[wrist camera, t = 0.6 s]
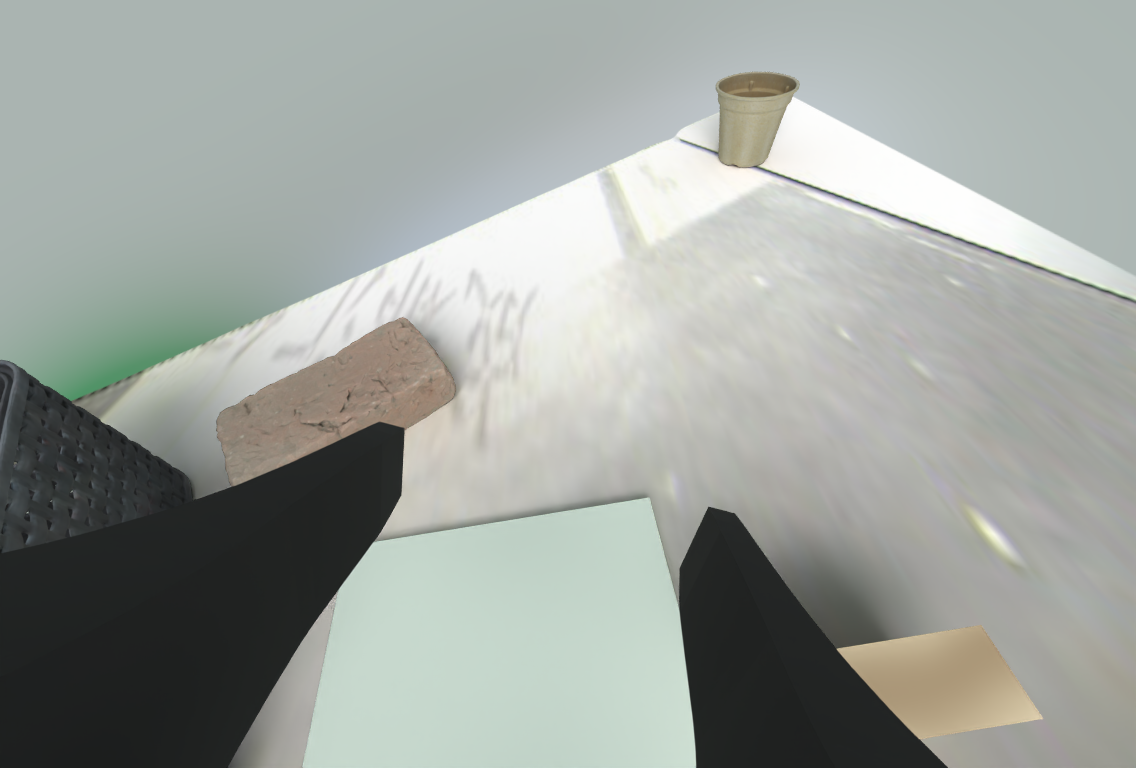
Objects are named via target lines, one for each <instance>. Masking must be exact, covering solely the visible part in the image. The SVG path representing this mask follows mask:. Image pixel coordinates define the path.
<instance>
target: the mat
mask: <svg viewBox="0 0 1136 768" xmlns="http://www.w3.org/2000/svg"><path fill="white" fill-rule="evenodd" d="M302 768H696V752H695V739H694V728H693V718H692V710H691V702H690V694H689V686H688V678H687V670H686V663H685V655H684V646H683V638H682V630H681V621H680V611H679V607H678V603H677V600H676V596H675V592H674V588H673V584H672V581H671V577H670V573H669V569H668V566H667V562H666V558H665V554H664V550H663V547H662V543H661V539H660V535H659V532H658V528H657V524H656V520H655V517H654V513H653V509H652V505H651V501H650V498H643V499H637V500H631V501H624V502H618V503H612V504H606V505H600V506H593V507H587V508H581V509H575V510H569V511H562V512H556V513H550V514H544V515H538V516H532V517H525V518H519V519H513V520H507V521H501V522H494V523H488V524H482V525H476V526H470V527H463V528H457V529H451V530H445V531H439V532H433V533H426V534H420V535H414V536H408V537H402V538H395V539H389V540H383V541H377V542H373V544H372V545H371V546H370V548H369V549H368V550H367V552H366V553H365V555H364V556H363V557H362V559H361V560H360V561H359V563H358V564H357V565H356V567H355V568H354V570H353V571H352V572H351V574H350V575H349V576H348V578H347V579H346V580H345V582H344V583H343V584H342V586H341V587H340V588H339V590H338V594H337V599H336V604H335V609H334V614H333V619H332V624H331V629H330V633H329V638H328V643H327V648H326V653H325V658H324V663H323V668H322V673H321V678H320V683H319V688H318V692H317V697H316V702H315V707H314V712H313V717H312V722H311V727H310V732H309V737H308V742H307V747H306V751H305V756H304V761H303V766H302Z"/></svg>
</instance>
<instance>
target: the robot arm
mask: <svg viewBox="0 0 1136 768" xmlns="http://www.w3.org/2000/svg"><path fill="white" fill-rule="evenodd" d="M404 430H405V428H403V427H399V426H395V425H391V424H387V423H384V422H377V423H375V424H372V425H370V426H368V427H366V428H364V429H361V430H359V431H357V432H355V433H353V434H351V435H349V436H347V437H345V438H343V439H340V440H338V441H336V442H334V443H332V444H330V445H328V446H326V447H323V448H321V449H319V450H317V451H315V452H313V453H311V454H308V455H306V456H304V457H302V458H300V459H298V460H295V461H293V462H291V463H289V464H286V465H284V466H281V467H279V468H277V469H274V470H272V471H269V472H267V473H265V474H262V475H260V476H257V477H255V478H253V479H250V480H248V481H245V482H243V483H241V484H238V485H236V486H233V487H230V488H228V489H225V490H222V491H220V492H217V493H214V494H211V495H209V496H206V497H203V498H200V499H197V500H194V501H191V502H188V503H185V504H182V505H179V506H176V507H173V508H170V509H167V510H164V511H161V512H158V513H154V514H151V515H147V516H144V517H140V518H137V519H133V520H130V521H126V522H123V523H119V524H116V525H112V526H109V527H105V528H102V529H98V530H95V531H91V532H88V533H84V534H80V535H76V536H72V537H68V538H64V539H60V540H56V541H52V542H48V543H44V544H40V545H35V546H31V547H27V548H22V549H18V550H13V551H9V552H5V553H0V768H227V767H228V765H229V764H230V762H231V760H232V758H233V756H234V755H235V753H236V751H237V749H238V747H239V746H240V744H241V742H242V740H243V739H244V737H245V735H246V734H247V732H248V730H249V728H250V727H251V725H252V723H253V722H254V720H255V718H256V716H257V715H258V713H259V711H260V710H261V708H262V706H263V704H264V703H265V701H266V699H267V698H268V696H269V694H270V692H271V691H272V689H273V687H274V686H275V684H276V683H277V681H278V679H279V678H280V676H281V674H282V673H283V671H284V669H285V668H286V666H287V664H288V663H289V661H290V660H291V658H292V656H293V655H294V653H295V651H296V650H297V648H298V646H299V645H300V643H301V642H302V640H303V639H304V637H305V636H306V634H307V633H308V631H309V630H310V628H311V627H312V625H313V624H314V622H315V621H316V620H317V618H318V617H319V615H320V614H321V613H322V611H323V610H324V609H325V607H326V606H327V605H328V603H329V602H330V601H331V599H332V598H333V597H334V595H335V594H336V592H337V591H338V590H339V588H340V587H341V586H342V584H343V583H344V582H345V580H346V579H347V578H348V576H349V575H350V574H351V572H352V571H353V570H354V568H355V567H356V565H357V564H358V563H359V561H360V560H361V559H362V557H363V556H364V555H365V553H366V552H367V550H368V549H369V548H370V546H371V545H372V544H373V542H374V541H375V539H376V538H377V537H378V535H379V534H380V532H381V531H382V529H383V527H384V525H385V524H386V522H387V520H388V518H389V517H390V515H391V513H392V511H393V509H394V508H395V506H396V504H397V502H398V500H399V498H400V497H401V492H402V471H403V451H404ZM679 604H680V621H681V630H682V638H683V646H684V655H685V663H686V670H687V678H688V686H689V694H690V702H691V710H692V718H693V728H694V739H695V752H696V768H948V767H947V766H946V765H945V764H944V763H943V762H942V761H941V760H940V759H939V758H938V757H937V756H936V755H935V754H934V753H933V752H932V751H931V750H930V749H929V748H928V747H927V746H926V745H925V744H924V743H923V742H922V741H921V740H920V739H919V738H918V737H917V736H916V735H915V734H914V733H913V732H912V731H911V730H910V729H909V728H908V727H907V726H906V725H905V724H904V723H903V722H902V721H901V720H900V719H899V718H898V717H897V716H896V715H895V714H894V713H893V712H892V711H891V710H890V709H889V708H888V706H887V705H886V704H885V703H884V702H883V701H882V700H881V699H880V698H879V697H878V695H877V694H876V693H875V692H874V691H873V690H872V689H871V688H870V687H869V686H868V684H867V683H866V682H865V681H864V680H863V679H862V678H861V677H860V676H859V675H858V673H857V672H856V671H855V670H854V669H853V668H852V667H851V666H850V664H849V663H848V662H847V661H846V660H845V659H844V657H843V656H842V655H841V654H840V653H839V652H838V650H837V649H836V648H835V647H834V645H833V644H832V643H831V642H830V641H829V639H828V638H827V637H826V636H825V634H824V633H823V632H822V631H821V629H820V628H819V627H818V626H817V624H816V623H815V622H814V621H813V620H812V618H811V617H810V616H809V614H808V613H807V612H806V611H805V609H804V608H803V607H802V605H801V604H800V603H799V601H798V600H797V599H796V597H795V596H794V595H793V593H792V592H791V591H790V589H789V588H788V587H787V585H786V584H785V583H784V581H783V580H782V579H781V577H780V576H779V574H778V573H777V572H776V570H775V569H774V567H773V566H772V565H771V563H770V562H769V560H768V559H767V558H766V556H765V555H764V553H763V552H762V550H761V549H760V548H759V546H758V545H757V543H756V542H755V541H754V539H753V538H752V536H751V535H750V533H749V532H748V531H747V529H746V528H745V526H744V525H743V524H742V522H741V521H740V520H739V518H738V517H737V516H736V514H735V513H731V512H727V511H723V510H719V509H715V508H711V507H708V509H707V511H706V513H705V515H704V517H703V520H702V522H701V524H700V526H699V528H698V530H697V532H696V535H695V537H694V539H693V541H692V543H691V545H690V547H689V550H688V552H687V554H686V556H685V558H684V560H683V562H682V564H681V567H680V580H679Z"/></svg>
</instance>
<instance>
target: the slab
mask: <svg viewBox="0 0 1136 768" xmlns="http://www.w3.org/2000/svg"><path fill="white" fill-rule="evenodd" d="M837 650H838V652H839V653H840V654H841V655H842V656H843V657H844V659H845V660H846V661H847V662H848V663H849V664H850V666H851V667H852V668H853V669H854V670H855V671H856V672H857V673H858V675H859V676H860V677H861V678H862V679H863V680H864V681H865V682H866V683H867V684H868V686H869V687H870V688H871V689H872V690H873V691H874V692H875V693H876V694H877V695H878V697H879V698H880V699H881V700H882V701H883V702H884V703H885V704H886V705H887V706H888V708H889V709H890V710H891V711H892V712H893V713H894V714H895V715H896V716H897V717H898V718H899V719H900V720H901V721H902V722H903V723H904V724H905V725H906V726H907V727H908V728H909V729H910V730H911V731H912V732H913V733H914V734H915V735H916V736H917V737H918V738H919V739H923V738H929V737H936V736H942V735H948V734H954V733H960V732H966V731H972V730H978V729H984V728H990V727H996V726H1002V725H1008V724H1014V723H1021V722H1027V721H1033V720H1039V719H1043V718H1042V716H1041V715H1040V713H1039V712H1038V710H1037V709H1036V707H1035V706H1034V704H1033V703H1032V701H1031V700H1030V698H1029V697H1028V695H1027V694H1026V692H1025V691H1024V689H1023V687H1022V686H1021V684H1020V683H1019V681H1018V680H1017V678H1016V677H1015V675H1014V674H1013V672H1012V671H1011V669H1010V668H1009V666H1008V665H1007V663H1006V662H1005V660H1004V659H1003V657H1002V656H1001V654H1000V653H999V651H998V650H997V648H996V647H995V645H994V644H993V642H992V641H991V639H990V638H989V636H988V635H987V633H986V632H985V630H984V629H983V627H982V626H981V625H979V626H973V627H966V628H960V629H954V630H948V631H942V632H936V633H930V634H924V635H918V636H911V637H905V638H899V639H893V640H887V641H881V642H875V643H869V644H862V645H856V646H850V647H844V648H838V649H837Z"/></svg>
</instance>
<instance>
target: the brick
mask: <svg viewBox="0 0 1136 768" xmlns="http://www.w3.org/2000/svg"><path fill="white" fill-rule="evenodd" d="M455 391H456V386H455V383H454V379H453V377H452V375H451V374H450V372H449V371H448V370H447V367H446V366H445V364H444V363H443V362H442V360H441V359H440V358H439V356H438V354H437V353H436V351H435V350H434V349H433V347H432V346H431V345H430V344H429V343H428V341H427V340H426V339H425V338H424V337H423V336H422V335H421V333H420V332H419V331H418V330H417V329H416V328H415V327H414V325H413V324H411V323H410V322H409V321H408V320H407V319H405V318H403V317H402V318H399V319H397V320H395V321H394V322H389V323H387V324H384V325H382V326H381V327H379V328H377V329H375V330H374V331H372V332H370V333H368V334H366V335H365V336H363V337H362V338H360V339H359V340H357V341H355V342H353V343H351V344H350V345H349V346H347V347H345V348H344V349H342V350H341V351H339V352H338V353H337V354H336V355H335V356H332V357H327V358H326V359H324V360H322V361H320V362H318V363H315V364H313V365H311V366H309V367H307V368H305V369H302V370H300V371H299V372H297V373H295V374H292V375H289V376H288V377H286V378H284V379H281V380H279V381H277V382H275V383H273V384H270V385H268V386H266V387H264V388H263V389H261V390H259V391H258V392H257V393H256V394H255V395H250V396H248V397H246V398H245V399H243V400H242V401H241V402H240V403H238V404H237V405H235V406H232V407H228V408H226V409H225V410H223V411H222V412H221V413H220V414H219V416H218V418H217V429H216V431H217V432H218V434H217V438H218V439H219V441H220V442H221V444H222V451H223V453H224V456H225V470H226V472H227V473H228V478H229V482H230V484H231V486H232V487H233V486H236V485H238V484H241V483H243V482H245V481H248V480H250V479H253V478H255V477H257V476H260V475H262V474H265V473H267V472H269V471H272V470H274V469H277V468H279V467H281V466H284V465H286V464H289V463H291V462H293V461H295V460H298V459H300V458H302V457H304V456H306V455H308V454H311V453H313V452H315V451H317V450H319V449H321V448H323V447H326V446H328V445H330V444H332V443H334V442H336V441H338V440H340V439H343V438H345V437H347V436H349V435H351V434H353V433H355V432H357V431H359V430H361V429H364V428H366V427H368V426H370V425H372V424H375V423H377V422H384V423H387V424H391V425H395V426H399V427H403V428H405V430H406V429H407V428H409V427H411V426H413V425H414V424H416V423H417V422H419V421H421V420H422V419H424V418H426V417H427V416H429V415H430V414H431V413H433V412H434V411H436V410H437V409H439V408H440V407H441V406H443V405H445V404H446V403H448V402H449V401H450V400H451V399H452V398H453V396H454V395H455Z"/></svg>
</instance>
